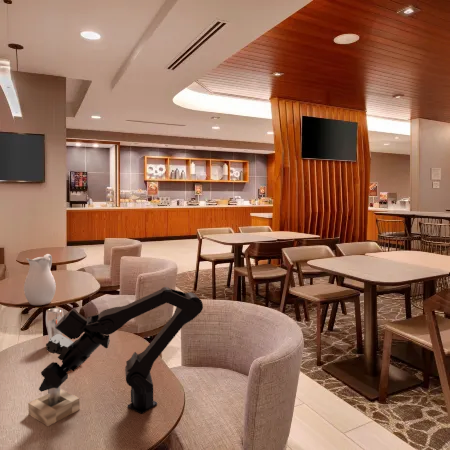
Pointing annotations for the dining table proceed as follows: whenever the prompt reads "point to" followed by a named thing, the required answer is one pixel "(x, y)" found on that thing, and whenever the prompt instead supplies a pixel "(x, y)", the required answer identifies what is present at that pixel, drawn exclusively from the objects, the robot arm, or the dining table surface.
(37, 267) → the pitcher
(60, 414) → the wooden block with hole
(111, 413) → the dining table surface
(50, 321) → the beer glass
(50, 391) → the steel needle peg
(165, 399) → the dining table surface
